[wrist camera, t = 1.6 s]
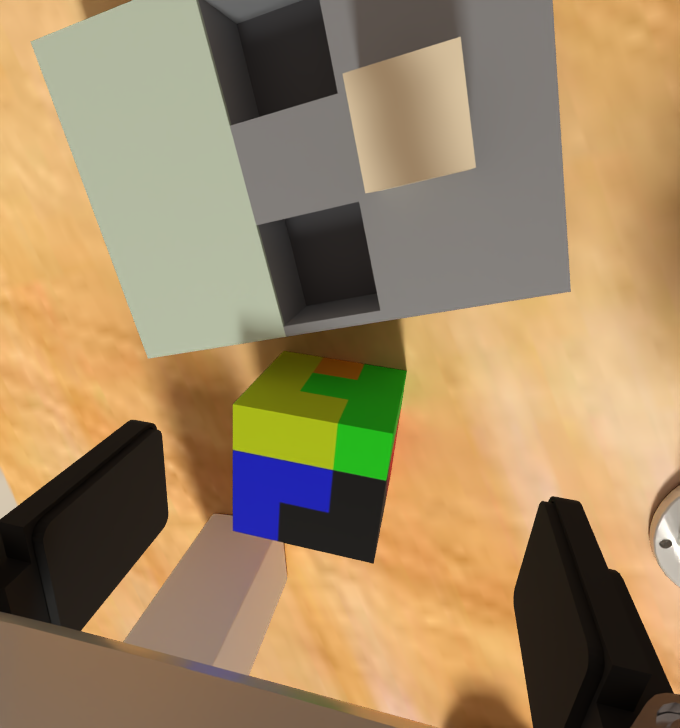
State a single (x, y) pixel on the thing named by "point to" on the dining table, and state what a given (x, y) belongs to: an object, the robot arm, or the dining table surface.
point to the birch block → (411, 117)
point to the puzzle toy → (316, 453)
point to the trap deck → (304, 164)
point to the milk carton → (216, 599)
